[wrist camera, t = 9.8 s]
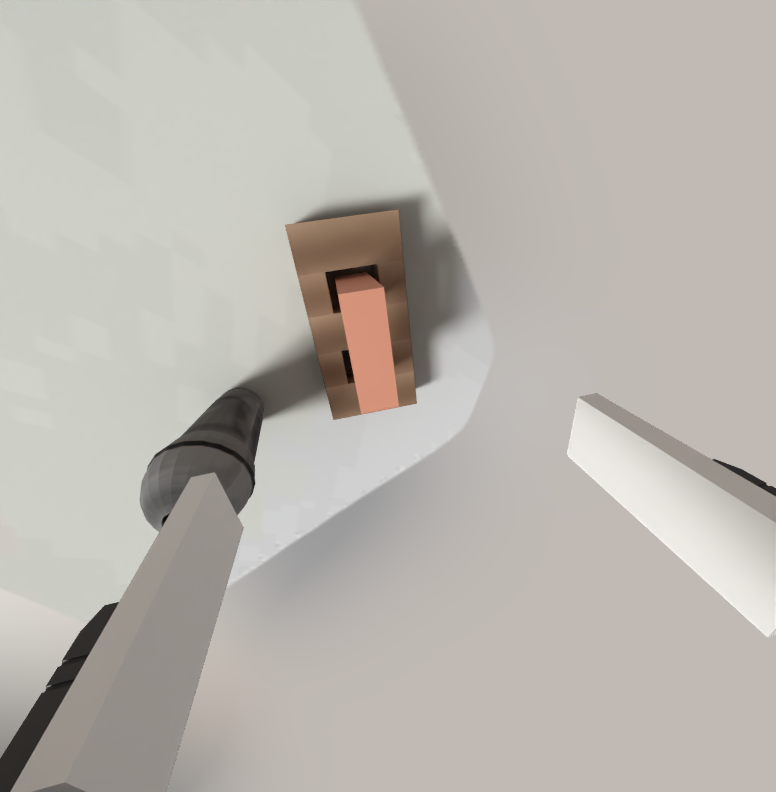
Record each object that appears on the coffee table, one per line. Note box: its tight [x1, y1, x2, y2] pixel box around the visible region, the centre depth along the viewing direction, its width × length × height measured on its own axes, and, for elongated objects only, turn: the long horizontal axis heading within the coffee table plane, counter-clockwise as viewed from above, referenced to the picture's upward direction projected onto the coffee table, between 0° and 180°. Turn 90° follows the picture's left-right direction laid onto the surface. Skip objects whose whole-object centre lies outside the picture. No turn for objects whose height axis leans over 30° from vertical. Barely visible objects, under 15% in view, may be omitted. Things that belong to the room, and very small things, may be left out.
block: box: [335, 272, 399, 414], centre depth 26 cm, size 9×3×10 cm, turn 7°
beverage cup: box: [140, 389, 264, 532], centre depth 24 cm, size 7×7×20 cm
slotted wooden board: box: [285, 209, 417, 420], centre depth 30 cm, size 18×9×3 cm, turn 7°
